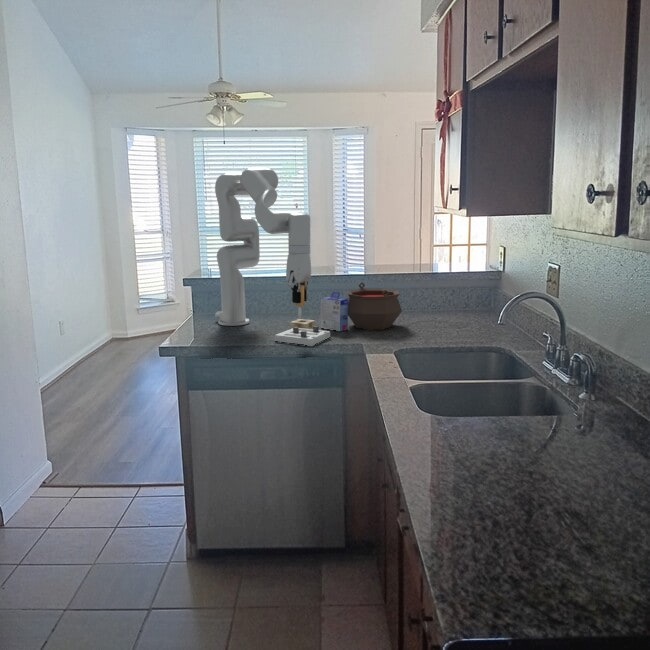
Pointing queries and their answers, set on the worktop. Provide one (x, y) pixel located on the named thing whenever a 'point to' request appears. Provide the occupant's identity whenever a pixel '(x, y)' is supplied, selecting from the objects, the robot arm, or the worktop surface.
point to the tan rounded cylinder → (301, 302)
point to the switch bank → (294, 338)
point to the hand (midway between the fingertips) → (299, 301)
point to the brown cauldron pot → (373, 307)
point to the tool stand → (302, 324)
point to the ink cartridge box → (334, 313)
